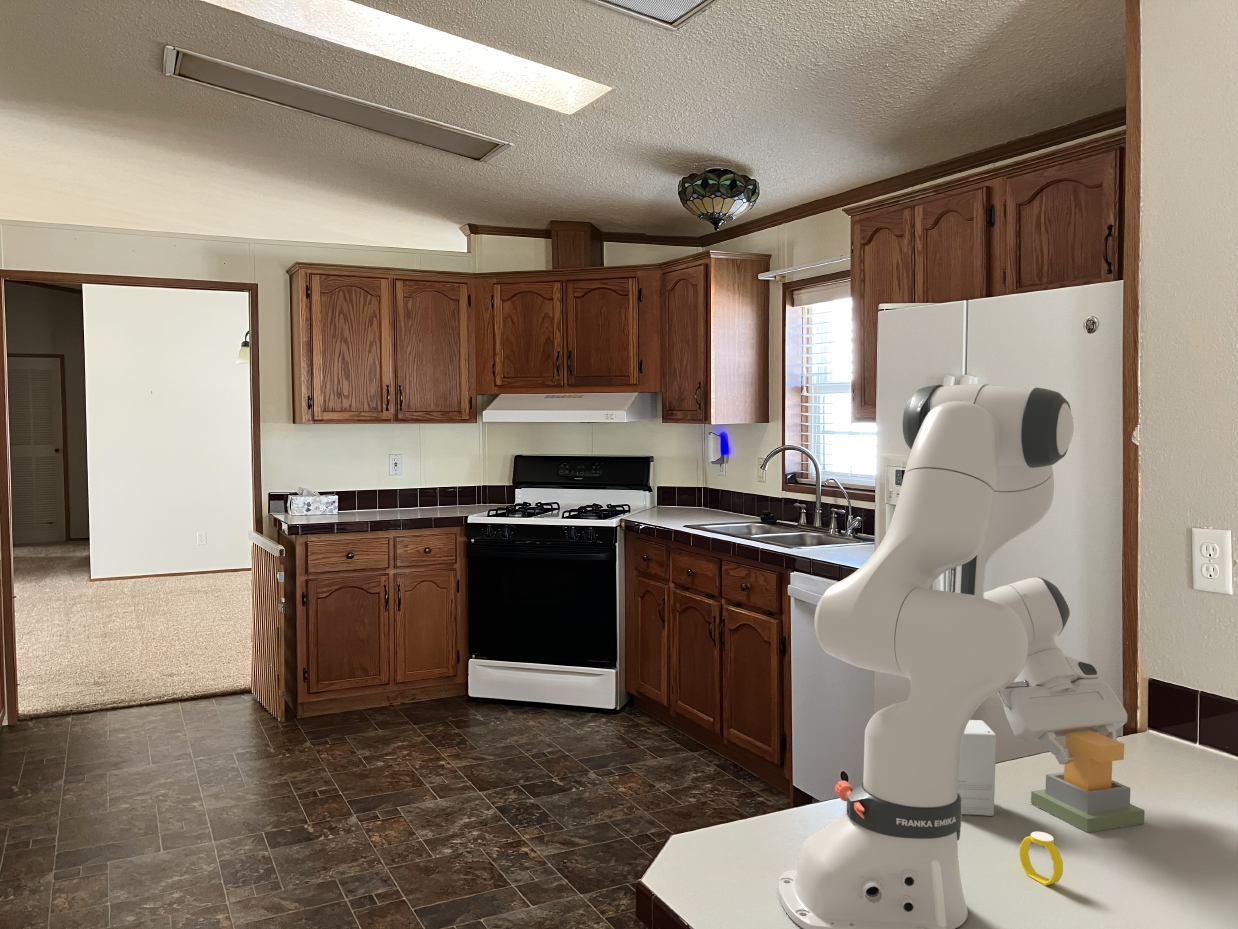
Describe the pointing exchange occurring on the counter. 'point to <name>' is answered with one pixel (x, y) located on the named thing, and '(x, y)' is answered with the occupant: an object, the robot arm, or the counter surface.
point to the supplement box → (977, 769)
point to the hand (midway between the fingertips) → (1091, 759)
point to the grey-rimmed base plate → (1088, 804)
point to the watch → (1048, 842)
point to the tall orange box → (1091, 759)
